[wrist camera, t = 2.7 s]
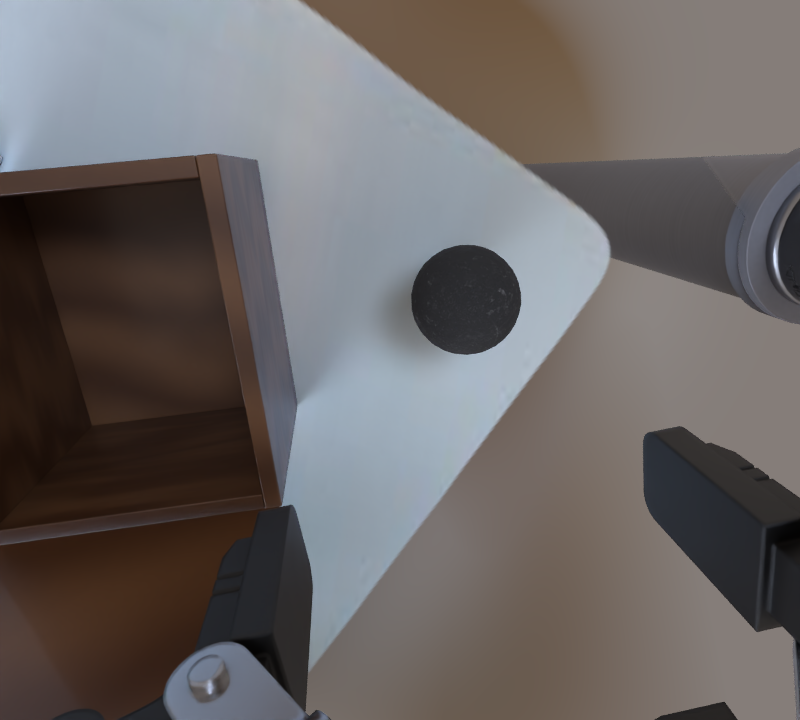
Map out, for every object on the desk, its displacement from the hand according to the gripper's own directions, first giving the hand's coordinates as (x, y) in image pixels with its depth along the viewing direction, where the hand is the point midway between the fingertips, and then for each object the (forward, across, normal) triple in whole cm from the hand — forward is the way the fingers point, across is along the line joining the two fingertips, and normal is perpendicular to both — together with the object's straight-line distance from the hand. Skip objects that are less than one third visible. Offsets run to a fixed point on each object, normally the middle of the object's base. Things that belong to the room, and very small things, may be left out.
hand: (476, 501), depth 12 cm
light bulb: (+24, +4, 0) cm, 25 cm away
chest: (+24, -14, +2) cm, 28 cm away
